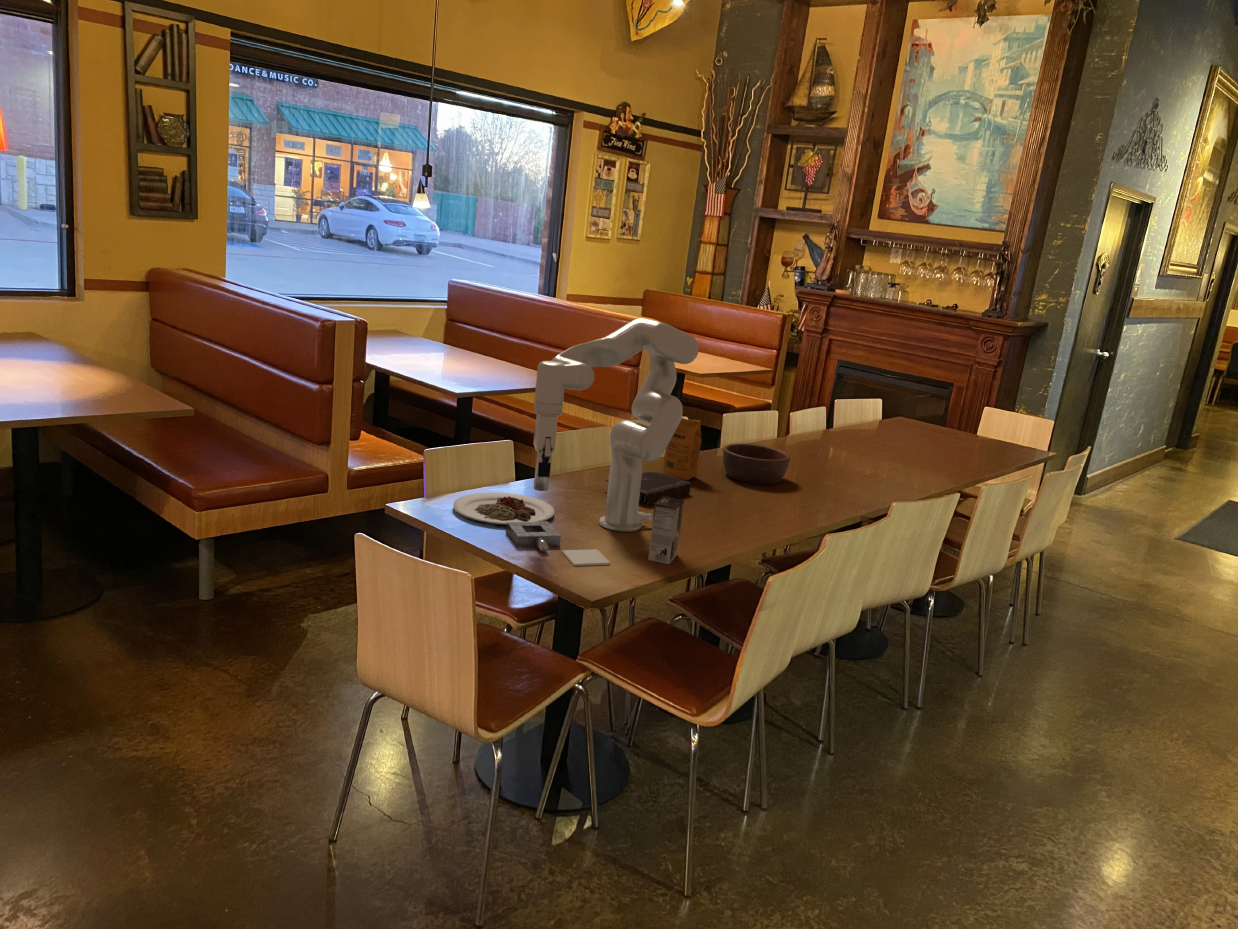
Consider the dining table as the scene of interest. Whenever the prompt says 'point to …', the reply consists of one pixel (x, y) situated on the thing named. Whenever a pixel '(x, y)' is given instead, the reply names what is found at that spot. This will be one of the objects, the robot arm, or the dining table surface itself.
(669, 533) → the coffee box
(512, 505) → the plated food
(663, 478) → the diary
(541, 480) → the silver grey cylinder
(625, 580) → the dining table surface
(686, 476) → the coffee package
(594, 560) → the pad
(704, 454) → the dining table surface
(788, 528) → the dining table surface
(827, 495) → the dining table surface
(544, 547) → the chuck block
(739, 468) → the wooden bowl
